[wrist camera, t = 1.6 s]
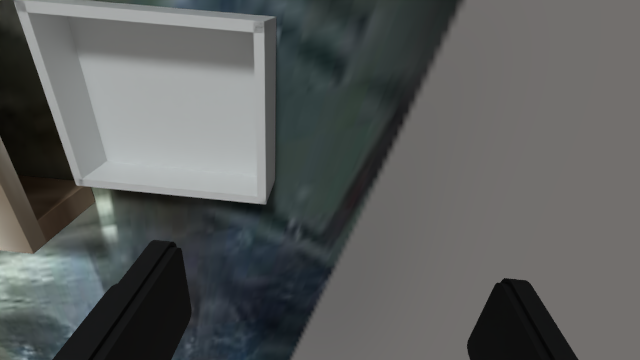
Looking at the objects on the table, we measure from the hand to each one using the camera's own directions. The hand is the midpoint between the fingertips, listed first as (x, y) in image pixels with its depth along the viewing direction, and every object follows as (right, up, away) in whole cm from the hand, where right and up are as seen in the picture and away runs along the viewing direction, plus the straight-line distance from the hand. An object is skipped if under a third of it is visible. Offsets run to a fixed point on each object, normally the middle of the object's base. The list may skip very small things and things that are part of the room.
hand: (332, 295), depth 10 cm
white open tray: (-11, +9, +14) cm, 20 cm away
